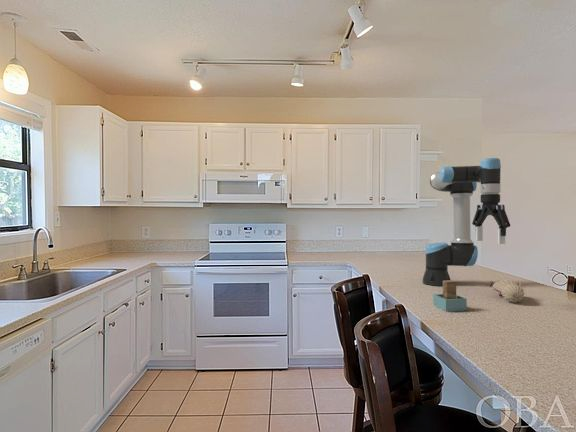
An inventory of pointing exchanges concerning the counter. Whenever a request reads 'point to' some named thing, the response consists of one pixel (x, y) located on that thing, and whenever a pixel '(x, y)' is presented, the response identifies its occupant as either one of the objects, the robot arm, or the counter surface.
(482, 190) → the robot arm
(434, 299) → the teal storage bin
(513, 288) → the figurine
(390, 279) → the counter surface
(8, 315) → the counter surface
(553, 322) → the counter surface
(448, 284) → the wooden post on plate
